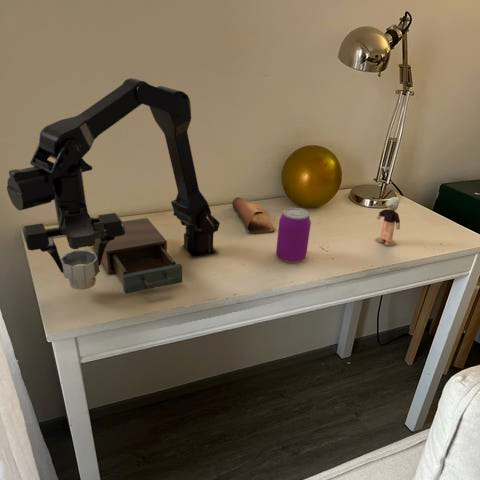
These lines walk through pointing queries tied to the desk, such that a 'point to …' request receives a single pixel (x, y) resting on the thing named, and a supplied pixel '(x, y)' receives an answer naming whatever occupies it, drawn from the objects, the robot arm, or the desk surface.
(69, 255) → the cup
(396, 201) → the grandmother figurine
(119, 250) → the cabinet
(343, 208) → the desk surface
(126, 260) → the drawer
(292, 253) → the beverage can
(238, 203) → the sunglasses case
